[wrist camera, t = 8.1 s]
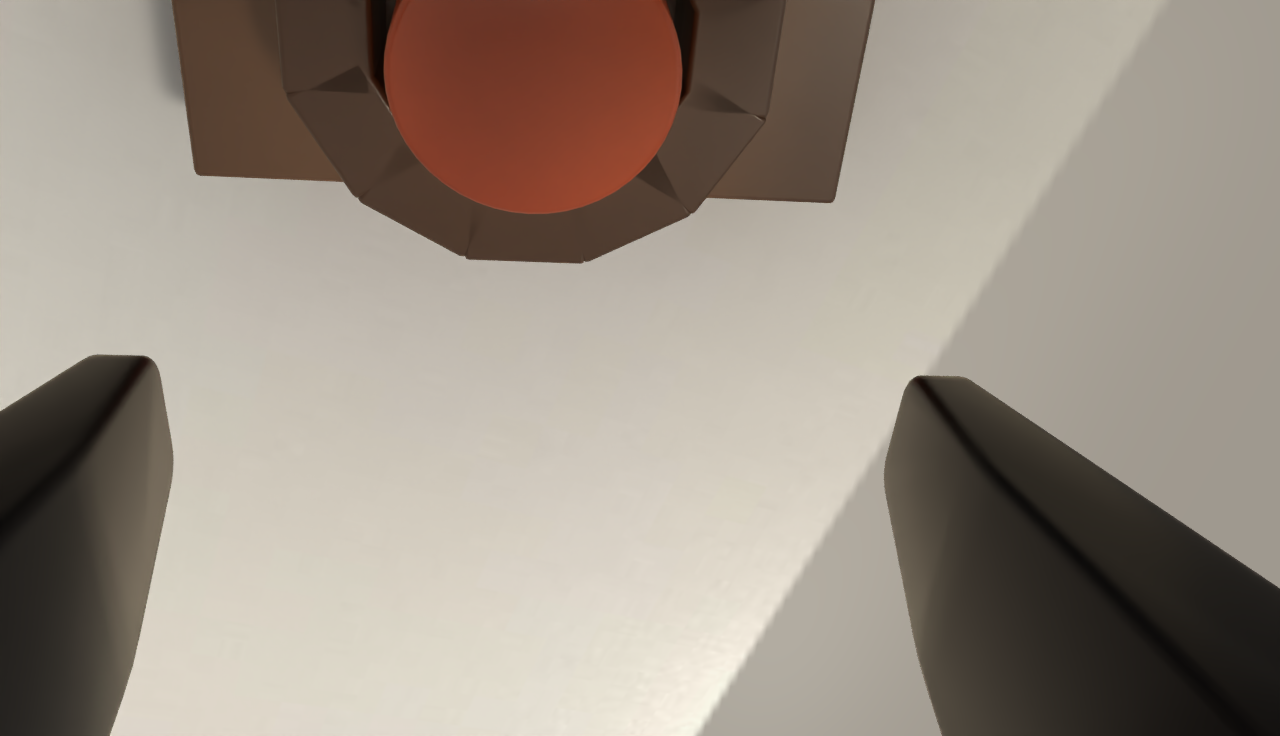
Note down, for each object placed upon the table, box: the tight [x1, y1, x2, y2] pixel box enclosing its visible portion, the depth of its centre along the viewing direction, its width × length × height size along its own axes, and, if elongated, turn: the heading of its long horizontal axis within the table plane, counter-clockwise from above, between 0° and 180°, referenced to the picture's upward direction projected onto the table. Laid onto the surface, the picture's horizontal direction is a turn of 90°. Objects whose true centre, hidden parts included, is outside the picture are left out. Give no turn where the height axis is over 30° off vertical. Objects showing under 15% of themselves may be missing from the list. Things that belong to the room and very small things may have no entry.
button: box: [383, 0, 683, 214], centre depth 15 cm, size 4×4×2 cm
